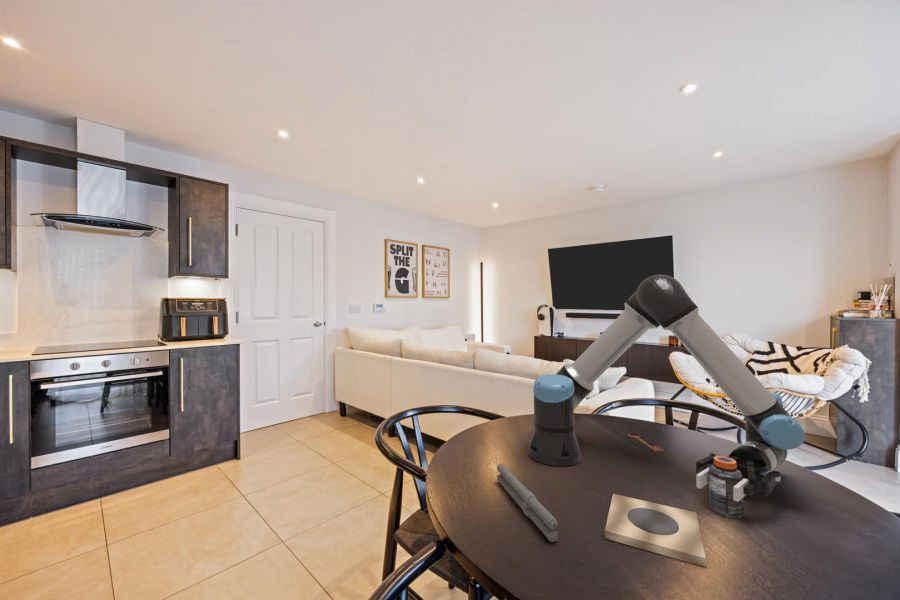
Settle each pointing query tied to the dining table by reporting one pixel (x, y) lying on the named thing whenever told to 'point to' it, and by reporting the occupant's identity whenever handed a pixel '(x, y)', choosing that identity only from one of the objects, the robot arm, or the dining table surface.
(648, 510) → the stand
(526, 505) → the metal rod assembly
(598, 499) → the dining table surface
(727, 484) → the pill bottle
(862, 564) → the dining table surface
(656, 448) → the key
